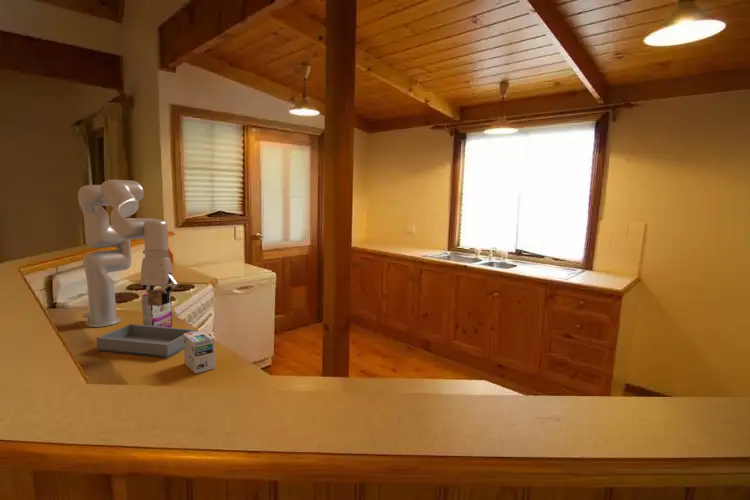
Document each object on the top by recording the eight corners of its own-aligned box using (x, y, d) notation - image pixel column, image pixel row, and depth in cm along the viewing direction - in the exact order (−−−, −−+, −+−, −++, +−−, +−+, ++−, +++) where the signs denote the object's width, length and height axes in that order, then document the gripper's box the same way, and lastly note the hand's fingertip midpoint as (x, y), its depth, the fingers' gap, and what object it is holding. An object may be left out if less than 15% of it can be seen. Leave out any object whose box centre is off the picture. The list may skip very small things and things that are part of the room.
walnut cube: (148, 305, 142) (147, 291, 141) (157, 301, 147) (157, 288, 146) (160, 306, 141) (159, 292, 140) (169, 302, 146) (169, 289, 145)
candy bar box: (162, 325, 170) (161, 288, 168) (172, 326, 169) (171, 289, 167) (142, 333, 160) (140, 294, 157) (153, 334, 159) (151, 295, 156)
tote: (97, 351, 141) (96, 338, 140) (131, 336, 156) (130, 324, 156) (167, 358, 137) (167, 344, 136) (195, 342, 152) (195, 329, 152)
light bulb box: (215, 368, 130) (215, 337, 129) (195, 374, 126) (194, 342, 124) (203, 358, 138) (202, 329, 136) (183, 363, 133) (182, 333, 132)
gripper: (127, 254, 139) (130, 303, 141) (171, 256, 136) (173, 307, 139) (143, 251, 146) (145, 298, 149) (184, 253, 144) (186, 301, 146)
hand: (158, 302), depth 144 cm, fingers closed on walnut cube, 5 cm apart
